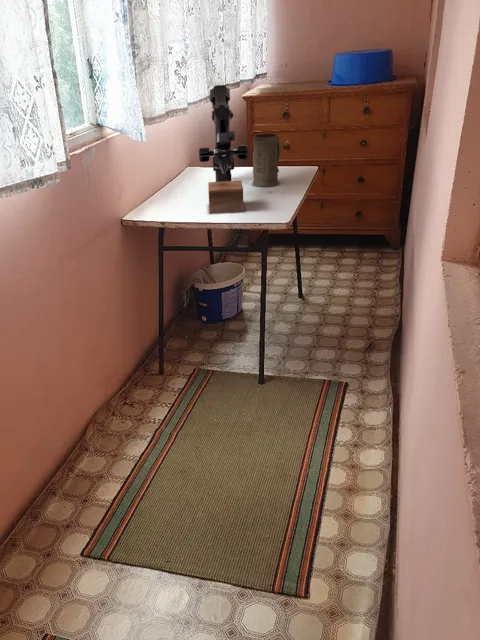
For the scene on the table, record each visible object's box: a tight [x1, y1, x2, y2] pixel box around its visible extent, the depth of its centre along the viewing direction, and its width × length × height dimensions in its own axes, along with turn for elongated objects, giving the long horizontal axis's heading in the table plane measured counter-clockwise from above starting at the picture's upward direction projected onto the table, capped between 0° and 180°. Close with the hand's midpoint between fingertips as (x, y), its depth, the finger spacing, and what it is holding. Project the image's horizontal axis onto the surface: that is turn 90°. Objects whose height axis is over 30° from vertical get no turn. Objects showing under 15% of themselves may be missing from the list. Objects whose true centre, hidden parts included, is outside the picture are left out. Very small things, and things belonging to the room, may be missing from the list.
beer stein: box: [252, 133, 281, 188], centre depth 255 cm, size 15×11×20 cm
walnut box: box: [208, 190, 245, 215], centre depth 227 cm, size 13×13×8 cm
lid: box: [207, 179, 244, 194], centre depth 225 cm, size 13×13×1 cm
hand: (224, 173), depth 230 cm, fingers closed
